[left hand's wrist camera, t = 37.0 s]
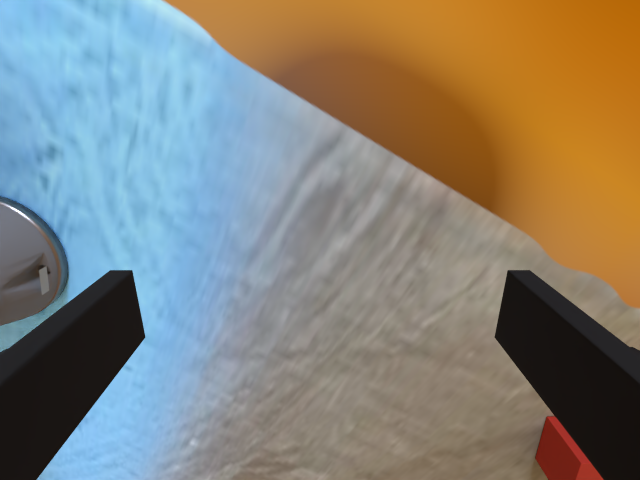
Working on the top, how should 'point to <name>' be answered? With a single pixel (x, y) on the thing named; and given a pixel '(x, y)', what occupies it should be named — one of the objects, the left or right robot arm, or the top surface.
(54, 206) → the top surface
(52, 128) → the top surface
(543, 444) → the brick
